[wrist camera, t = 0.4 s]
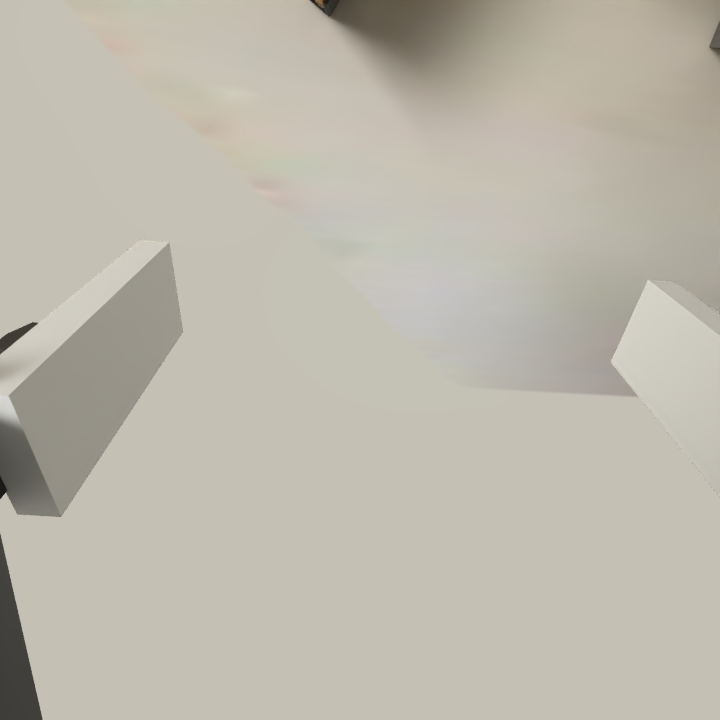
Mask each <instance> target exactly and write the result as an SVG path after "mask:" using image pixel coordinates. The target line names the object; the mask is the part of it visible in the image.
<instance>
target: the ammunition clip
mask: <svg viewBox="0 0 720 720" xmlns="http://www.w3.org/2000/svg"><path fill="white" fill-rule="evenodd" d="M310 1H311V2H313V3H314V4H315V5H316V6H317V7H318V8H319V9H321V10H322V11H323V12H324V13H325V14H326V15H328V16H331V14H332V12H333V11H334V9H335V7H336V5H337V3H338V1H339V0H310Z"/></svg>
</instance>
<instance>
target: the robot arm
mask: <svg viewBox="0 0 720 720" xmlns="http://www.w3.org/2000/svg"><path fill="white" fill-rule="evenodd" d="M182 333H183V328H182V322H181V315H180V309H179V302H178V296H177V289H176V283H175V277H174V270H173V264H172V257H171V250H170V244H169V242H159V241H145V240H140V241H138V242H137V243H136V244H135V245H134V246H132V247H131V248H130V249H129V250H127V251H126V252H125V253H124V254H123V255H121V256H120V257H119V258H118V259H116V260H115V261H114V262H113V263H111V264H110V265H109V266H108V267H107V268H105V269H104V270H103V271H102V272H100V273H99V274H98V275H97V276H96V277H94V278H93V279H92V280H91V281H89V282H88V283H87V284H86V285H85V286H83V287H82V288H81V289H80V290H79V291H77V292H76V293H75V294H74V295H73V296H71V297H70V298H69V299H68V300H66V301H65V302H64V303H63V304H61V305H60V306H59V307H58V308H56V309H55V310H54V311H53V312H52V313H50V314H49V315H48V316H47V317H45V318H44V319H43V320H42V321H41V322H39V323H33V322H32V323H30V324H28V325H26V326H23V327H21V328H19V329H17V330H15V331H12V332H10V333H8V334H6V335H5V336H4V337H2V338H1V339H0V499H1V498H2V496H3V495H4V494H5V493H7V495H8V497H9V499H10V501H11V503H12V505H13V507H14V509H15V511H16V513H17V514H20V515H38V516H56V517H61V516H62V515H63V513H64V511H65V510H66V509H67V507H68V506H69V504H70V503H71V501H72V500H73V498H74V497H75V495H76V493H77V492H78V490H79V489H80V487H81V486H82V484H83V483H84V481H85V480H86V478H87V477H88V475H89V474H90V472H91V471H92V469H93V468H94V466H95V465H96V463H97V462H98V460H99V459H100V457H101V456H102V454H103V453H104V451H105V449H106V448H107V446H108V445H109V443H110V442H111V440H112V439H113V437H114V436H115V434H116V433H117V431H118V430H119V428H120V427H121V425H122V424H123V422H124V420H125V419H126V418H127V416H128V415H129V413H130V412H131V410H132V409H133V407H134V405H135V404H136V402H137V401H138V399H139V398H140V396H141V395H142V393H143V392H144V390H145V389H146V387H147V386H148V384H149V383H150V381H151V380H152V378H153V376H154V375H155V373H156V372H157V370H158V369H159V367H160V366H161V364H162V363H163V361H164V360H165V358H166V356H167V355H168V354H169V352H170V351H171V349H172V347H173V346H174V345H175V343H176V342H177V340H178V339H179V337H180V336H181V334H182ZM611 363H612V364H613V366H614V367H615V368H616V369H617V371H618V372H619V373H620V374H621V376H622V377H623V378H624V379H625V381H626V382H627V383H628V384H629V385H630V387H631V388H632V389H633V390H634V392H635V393H636V394H637V395H638V397H639V398H640V399H641V400H642V402H643V403H644V404H645V405H646V407H647V408H648V409H649V410H650V411H651V413H652V414H653V415H654V416H655V418H656V419H657V420H658V421H659V423H660V424H661V425H662V426H663V427H664V429H665V430H666V431H667V432H668V434H669V435H670V436H671V437H672V438H673V440H674V441H675V442H676V444H677V445H678V446H679V447H680V449H681V450H682V451H683V452H684V453H685V455H686V456H687V457H688V459H689V460H690V461H691V462H692V463H693V465H694V466H695V467H696V468H697V470H698V471H699V472H700V473H701V474H702V476H703V477H704V478H705V480H706V481H707V482H708V483H709V484H710V486H711V487H712V488H713V490H714V491H715V492H716V493H717V494H718V496H719V497H720V314H719V313H718V312H716V311H715V310H713V309H712V308H711V307H709V306H708V305H706V304H705V303H704V302H702V301H701V300H700V299H698V298H697V297H695V296H694V295H693V294H691V293H690V292H689V291H687V290H686V289H684V288H683V287H682V286H680V285H679V284H677V283H676V282H671V281H659V280H648V281H647V284H646V286H645V288H644V290H643V292H642V294H641V297H640V299H639V301H638V303H637V305H636V308H635V310H634V312H633V314H632V316H631V319H630V321H629V323H628V325H627V327H626V329H625V332H624V334H623V336H622V338H621V340H620V343H619V345H618V347H617V349H616V351H615V354H614V356H613V358H612V360H611ZM0 720H42V715H41V711H40V706H39V702H38V698H37V693H36V689H35V684H34V680H33V676H32V671H31V667H30V662H29V658H28V654H27V649H26V645H25V641H24V636H23V632H22V627H21V623H20V619H19V615H18V610H17V605H16V601H15V597H14V592H13V588H12V583H11V579H10V574H9V570H8V566H7V561H6V557H5V553H4V548H3V544H2V540H1V535H0Z"/></svg>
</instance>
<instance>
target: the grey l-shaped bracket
mask: <svg viewBox="0 0 720 720" xmlns="http://www.w3.org/2000/svg"><path fill="white" fill-rule="evenodd" d="M710 47H713V48H720V22H719V24H718V27H717V29H716V32H715V34H714V37H713V39H712V42H711V44H710Z"/></svg>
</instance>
